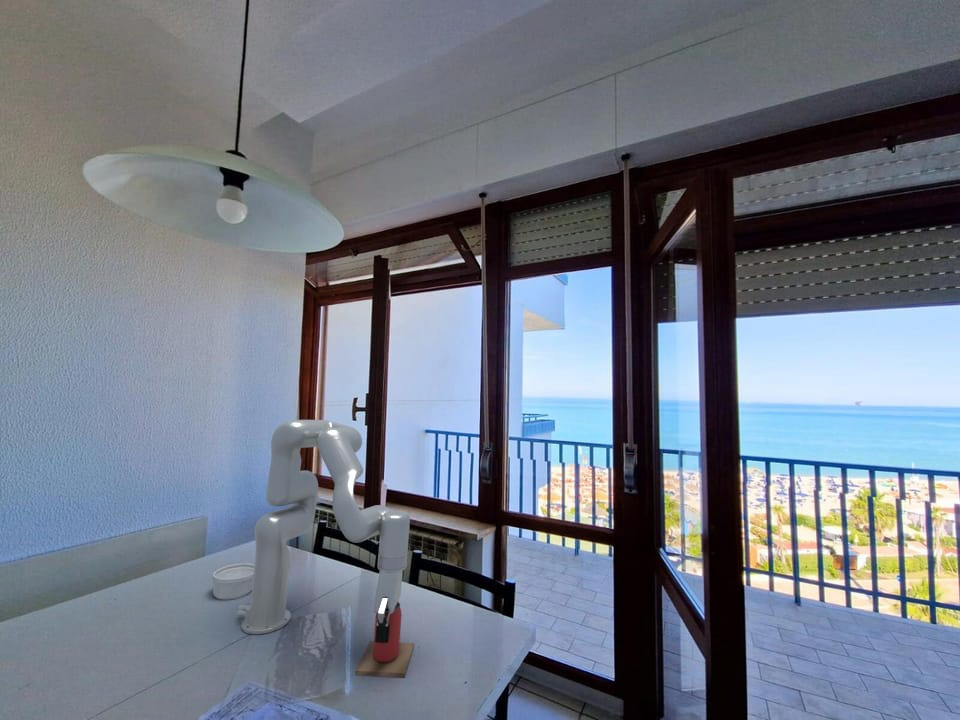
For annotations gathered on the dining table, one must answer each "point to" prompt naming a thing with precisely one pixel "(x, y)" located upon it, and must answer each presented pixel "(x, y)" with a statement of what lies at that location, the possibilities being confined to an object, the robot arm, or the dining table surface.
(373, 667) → the coaster board
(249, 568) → the ramekin
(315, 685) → the dining table surface
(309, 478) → the robot arm
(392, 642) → the beer can
